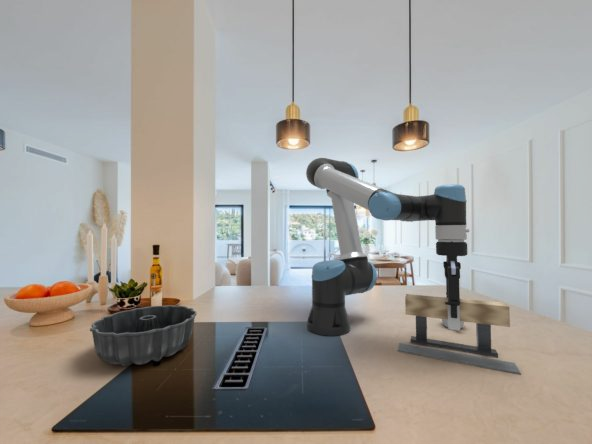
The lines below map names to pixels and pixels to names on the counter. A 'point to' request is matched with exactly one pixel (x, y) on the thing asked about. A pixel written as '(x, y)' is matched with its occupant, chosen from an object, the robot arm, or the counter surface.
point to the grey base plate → (459, 358)
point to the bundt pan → (142, 334)
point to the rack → (482, 343)
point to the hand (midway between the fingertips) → (453, 326)
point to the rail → (468, 309)
